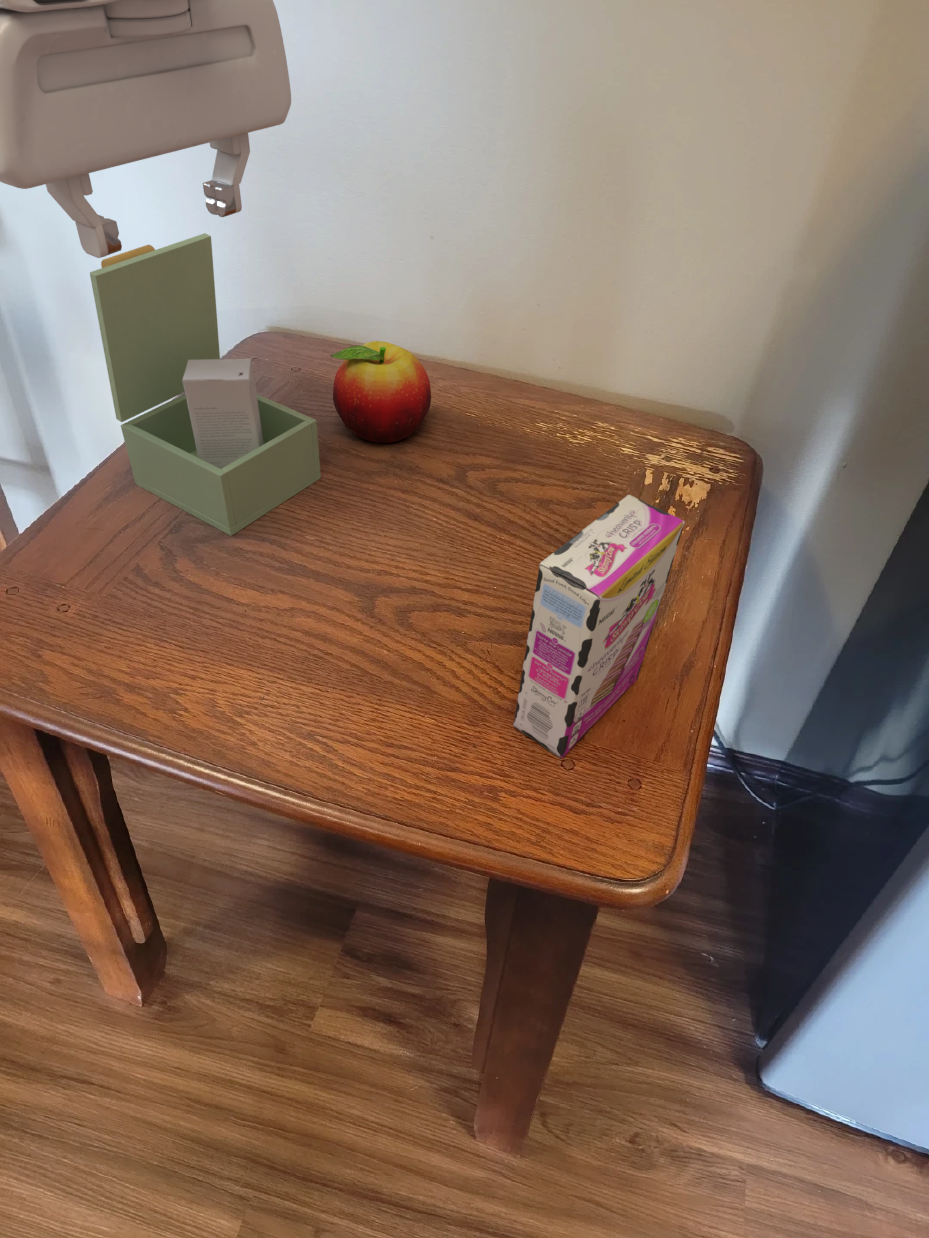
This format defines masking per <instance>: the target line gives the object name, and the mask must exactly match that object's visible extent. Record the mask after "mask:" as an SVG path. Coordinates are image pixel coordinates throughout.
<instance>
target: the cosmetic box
mask: <svg viewBox="0 0 929 1238" xmlns="http://www.w3.org/2000/svg"><path fill="white" fill-rule="evenodd" d="M182 382H183V386H184V390H185V392H184V394H185V395H186V400H187V405H188V409H189V414H190V419H191V424H192V429H193V434H194V439H195V444H196V449H197V454H198V458H200V459H202V460H204V461H206V462H208V463H210V464H212V465H214V466H216V467H218V468H220V469H222V468H224V467H225V466H227V465H229V464H231V463H232V462H234V461H236V460H238V459H239V458H241V457H243V456H245V455H246V454H248V453H250V452H252V451H253V450H255V449H257V448H259V447H260V446H262V445H264V442H263V435H262V428H261V421H260V414H259V408H258V401H257V394H258V393H257V387H256V380H255V373H254V366H253V360H252V358H220V359H204V360H188V362H187V366H186V369H185V373H184V376H183V380H182Z"/></svg>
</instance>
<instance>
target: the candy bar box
mask: <svg viewBox="0 0 929 1238" xmlns="http://www.w3.org/2000/svg"><path fill="white" fill-rule="evenodd" d="M685 524H686V522H685V520H683V519H681V518H680V517H678V516H675V515H673V514H671V513H669V512H666V511H665V510H663V509H660V508H658V507H656V506H654V505H651V504H649V503H647V502H646V501H644V500H642V499H639V498H638V497H635V496H633V495H631V494H627V495H626V496H625V497H623V498H622V499H621V500H619V501H618V502H617V503H616V504H614V505H612V507H610V508H609V509H608V510H607V511H605V512H604V513H603V514H602V515H600V516H598V518H596V519H595V520H593V521H592V522H591V523H590V524H588V525H587V526H586V527H585V528H583V529H582V530H580V531H579V533H576V535H574V536H572V537H571V539H569V540H568V541H566V542H565V543H564V544H562V545H561V546H559V548H557V549H556V550H554V551H553V552H552V553H550V555H548V556H547V557H545V559H543V560H542V561H541V562H539V564H538V572H537V579H536V585H535V590H534V597H533V602H532V609H531V615H530V616H531V617H530V621H529V627H528V634H527V639H526V647H525V655H524V658H523V664H522V671H521V677H520V684H519V690H518V694H517V701H516V706H515V713H514V718H513V719H514V720H513V724H512V726H513V727H514V728H515V729H516V730H518V732H519V731H520V733H522V734H523V735H525V736H527V737H528V738H530V739H531V740H533V741H534V742H536V743H537V744H539V745H540V746H541V747H543V748H544V749H546V750H547V751H548V752H550V753H551V754H553V755H554V756H556V757H558V758H559V759H564V757H565V756H566V755H567V754H568V753H569V752H571V750H572V749H573V748H574V747H575V745H576V744H577V743H578V742H579V741H580V740H581V739H582V738H583V737H584V736H585V735H586V734H587V733H588V732H589V731H590V730H591V729H592V727H593V726H594V725H596V723H597V722H598V721H599V720H600V719H601V718H602V717H603V716H604V715H605V714H606V713H607V712H608V711H609V710H610V709H611V708H612V707H613V706H614V704H616V703H617V701H618V700H619V699H620V698H621V697H622V696H623V695H624V694H626V692H627V691H628V690H629V689H630V688H631V687H632V686H633V685H634V684H635V683H636V682H637V680H638V679H639V675H640V672H641V668H642V666H643V662H644V659H645V655H646V652H647V649H648V645H649V642H650V639H651V635H652V632H653V628H654V624H655V622H656V618H657V615H658V611H659V608H660V604H661V602H662V598H663V595H664V592H665V590H666V586H667V583H668V579H669V575H670V574H671V573H670V572H671V570H672V566H673V563H674V559H675V556H676V552H677V549H678V545H679V543H680V540H681V535H682V533H683V530H684V526H685Z"/></svg>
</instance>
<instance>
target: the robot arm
mask: <svg viewBox="0 0 929 1238" xmlns="http://www.w3.org/2000/svg"><path fill="white" fill-rule="evenodd" d="M290 81H291V80H290V74H289V68H288V61H287V54H286V49H285V43H284V38H283V33H282V28H281V23H280V19H279V15H278V12H277V7H276V4H275V2H274V0H0V183H2V184H5V185H7V186H11V187H13V188H14V187H15V188H17V189H21V190H27V189H33V188H36V187H40V186H44V185H45V187H46V191H47V193H48V194H49V195H50V196H51V197H52V199H53V200H54V201H55V202H56V203H57V204H58V205H59V207H61V209H62V210H63V211H64V212H65V213H66V215H67V216H68V217H69V218H70V219H71V220H72V221H74V223H75V226H76V231H77V235H78V239H79V242H80V246H81V248H82V250H83V251H84V252H85V253H86V254H87V255H88V256H92V257H94V258H97V259H101V258H105V257H107V256H109V255H113V254H115V253H118V252H121V251H122V247H123V245H122V242H121V240H120V239H119V234H120V232H119V226H118V222H117V221H116V220H114V219H111V218H105V216H103V215H101V214H98V213H97V212H96V210H95V209H94V208H93V206H92V205H91V203H90V202H89V201H88V200H87V198H86V197H85V196H90V195H92V194H93V192H94V191H93V186H92V181H91V177H90V174H91V173H95V172H96V173H97V172H99V171H105V170H107V169H111V168H115V167H120V166H122V165H127V164H131V163H136V162H139V161H143V160H147V159H151V158H155V157H158V156H163V155H167V154H171V153H174V152H179V151H182V150H186V149H190V148H193V147H197V146H198V147H199V146H203V145H205V144H209V147H210V148H211V149H213V150H216V156H215V160H214V164H213V165H214V166H213V169H212V176H211V180H207V181H205V182H202V188H203V194H204V196H205V201H204V203H205V207H206V210H207V211H208V212H209V213H210V214H211V215H215V216H218V217H220V218H225V217H228V216H231V215H233V214H238V213H240V212H242V208H243V206H242V205H243V203H242V195H241V188H240V184H242V181H243V178H244V173H245V170H246V167H247V164H248V161H249V156H250V154H251V147H250V137H249V133H253V132H257V131H260V130H264V129H269V128H273V127H277V126H280V125H283V124H284V123H285V122H286V119H287V117H288V114H289V112H290V109H291V106H292V90H291V83H290Z"/></svg>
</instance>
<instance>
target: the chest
mask: <svg viewBox="0 0 929 1238" xmlns="http://www.w3.org/2000/svg"><path fill="white" fill-rule="evenodd" d="M256 394H257V401H258V408H259V414H260V421H261V428H262V435H263V442H264V445H262V446H260V447H259V448H257V449H255V450H253V451H252V452H250V453H248V454H246V455H245V456H243V457H241V458H239V459H238V460H236V461H234V462H232V463H231V464H229V465H227V466H225V467H224V468H222V469H220V468H218V467H216V466H214V465H212V464H210V463H208V462H206V461H204V460H202V459H200V458H198V454H197V449H196V444H195V439H194V434H193V429H192V424H191V419H190V414H189V409H188V405H187V400H186V395H185V393H184V394H181V395H179V396H177V397H176V398H173V399H172V400H171V399H170V400H168V402H167V401H166V403H165V402H164V403H162V404H160V405H158V406H156V407H154V408H152V409H151V410H148V411H147V412H145V413H143V414H139V415H137V416H135V417H133V418H131V419H129V420H128V421H127V422H126V421H125V422H123V423H122V424H120V429H121V433H122V437H123V440H124V441H123V442H124V444H125V445H124V446H125V449H126V451H127V457H128V461H129V463H130V467H131V472H132V475H133V479H134V483H135V485H136V486H137V487H140V488H142V489H143V490H145V491H147V492H149V493H151V494H153V495H154V496H156V497H158V498H160V499H162V500H164V501H165V502H167V503H169V504H170V505H173V506H174V507H177V508H178V509H180V510H182V511H184V512H186V513H187V514H189V515H191V516H194V517H195V518H197V519H198V520H200V521H202V522H204V523H206V524H208V525H210V526H212V527H214V528H215V529H217V530H219V531H221V532H223V533H225V534H227V535H228V536H231V537H232V536H234V535H235V534H237V533H238V532H239V531H241V530H243V529H244V528H246V527H248V526H249V525H251V524H252V523H254V522H255V521H257V520H258V519H260V518H261V517H263V516H265V515H266V514H267V513H269V512H270V511H273V510H274V509H276V508H277V507H278V506H280V505H282V504H283V503H285V502H286V501H288V500H289V499H291V498H293V497H294V496H296V495H297V494H299V493H300V492H302V491H303V490H305V489H307V488H308V487H309V486H311V485H313V484H314V483H316V482H317V481H319V480H320V479H321V478H322V473H321V460H320V448H319V437H318V436H319V435H318V434H319V433H318V424H317V419H315V418H312V417H310V416H308V415H305V414H304V413H301V412H299V411H297V410H294V409H292V408H290V407H288V406H285V405H283V404H281V403H279V402H276V401H274V400H272V399H270V398H267V397H266V396H263V395H261V394H258V393H256Z"/></svg>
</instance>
